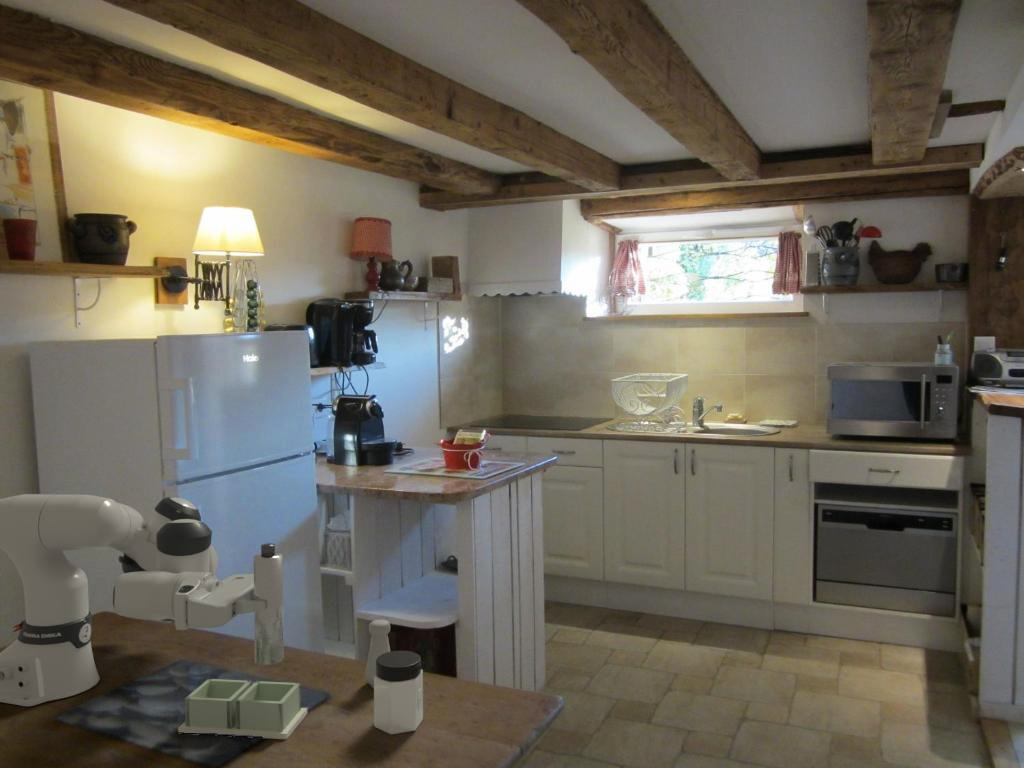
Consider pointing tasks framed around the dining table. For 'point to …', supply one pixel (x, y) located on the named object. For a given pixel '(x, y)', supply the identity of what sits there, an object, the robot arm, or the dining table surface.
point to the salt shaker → (377, 646)
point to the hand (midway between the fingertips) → (273, 599)
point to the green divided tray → (244, 708)
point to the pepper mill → (269, 606)
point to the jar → (398, 692)
